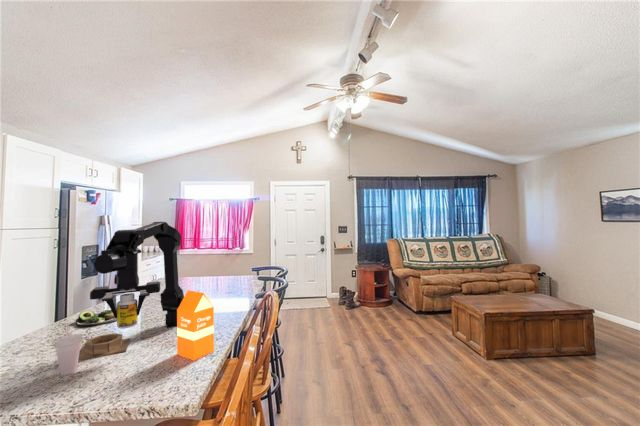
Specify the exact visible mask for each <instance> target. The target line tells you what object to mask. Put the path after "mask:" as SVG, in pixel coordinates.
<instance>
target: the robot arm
mask: <svg viewBox="0 0 640 426" xmlns="http://www.w3.org/2000/svg"><path fill="white" fill-rule="evenodd" d="M152 237H153V238H154V239H155V240H156V241H157V244H158V248H159V249H160V250H161V252H162V254H163V266H164V284H165V285H164V286H165V288H164V290H163V291H162V292H161V293H160V291H161V282H160V281H150V282H149V281H148V282H146V284H144V285H140V278H139V272H138V270H139V269H138V268H139V267H138V261H139V260H138V256H139V255H138V254H141V253H143V252H142V250H141V249H140V248H139V246H141V245H142V244H143V243H144V242H145V240H146V239H148V238H152ZM181 244H182V235H181V233H180V231H179V230H178V229H177V228H175V227H173V226H171V225H169V224H168V223H167V222H166V221H154V222H152V223H149V224H146V225H143V226H140V227H137V228H133V229H132V228H131V229H119V230H116V231H115V232H114V234H113V235H112V238H111V239H110V241H109V243H108V245H107V247H106V248H105V249H104V250H103V249H102V250H101V251H100V255H98V256H97V257H96V258H95V261H94V262H93V267H94V269H95V270H96V272H98V273H99V274H101V275H102V274H103V275H104V274H109V273H113V272H116V274H114V285H115V286H116V287H114V288H113V287H112V288H110V287H109V285H107V286H98V287H97V286H96V287H94V288H93V289H92V290H90V292H89V300H90V301H91V300H98V299H99V300H100V299H101V302H105V303H106V304H107V305H108V307H109V308H110V310H112V312H113V314H114V316H115V318H117V295H118V294H119V295H121V294H127V293H137V292H139V295H138V299H137V317H138V316H139V315H140V312H141V309H142V307H143V306H142V305H143V303H144V301H145V299H146V298H147V297H150V295H151V294H157V293H160V304H161V305H160V306H161V309H162V311H163V312H166V313H165V315H164V316H165V317H164V318H165V326H166V328H175V327H177V309H178V308H179V306H180V304H181V302H182V300H183V298H184V297H185V295H184V291H183V289H182V287H181V286H180V285H179V270H178V269H179V266H178V250H179V249H180V248H181Z"/></svg>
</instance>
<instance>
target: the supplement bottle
mask: <svg viewBox="0 0 640 426" xmlns="http://www.w3.org/2000/svg"><path fill="white" fill-rule="evenodd" d="M116 304H117V321H116V328H117V329H122V330H123V329H130V328H132V327H136V326H137V324H138V316H137V307H138V299H136V295H135V292H130V293H121V294H119V300H118V301H117V302H116Z"/></svg>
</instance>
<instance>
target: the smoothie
mask: <svg viewBox="0 0 640 426" xmlns="http://www.w3.org/2000/svg"><path fill="white" fill-rule="evenodd" d="M83 340H84V338H83V335H82V334H80V333H79V334H78V333H77V334H69V322H66V323H65V336H62V337H59V338H57V339H55V340H54V342H53V343H54V344H53V345H54V346H55V350H56V356H57V361H58V362H57V363H58V370H59V374H60V376H67V375H71V374H73V373H75V372H77V370H78V364H79V360H78V359H79V352H80V350H81V347H82V346H81V345H82V341H83Z"/></svg>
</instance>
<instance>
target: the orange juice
mask: <svg viewBox="0 0 640 426" xmlns="http://www.w3.org/2000/svg"><path fill="white" fill-rule="evenodd" d="M214 307H215V306H213V304H212V303H211V302H210V299H208V297H207V295H206V294H205V293H204V292H199V291H196V290H195V291H194V290H189V289H188V290H187V291H186V293H185V295H184V298H183V300H182V302H181V304H180V306H179V308H178V309H177V326H176V337H177V339H176V343H177V344H176V349H177V351H176V352H177V355H179V356H181V357H184V358H187V359H190V360H192V361H195V360H197V359H198V360H199V359H201V358H202V357H203V356H206V355H208V354H211V353H213V352H215V339H214V337H215V335H214V334H215V324H214V319H215V318H214V317H215V315H214V313H215V311H214V309H215V308H214Z"/></svg>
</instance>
